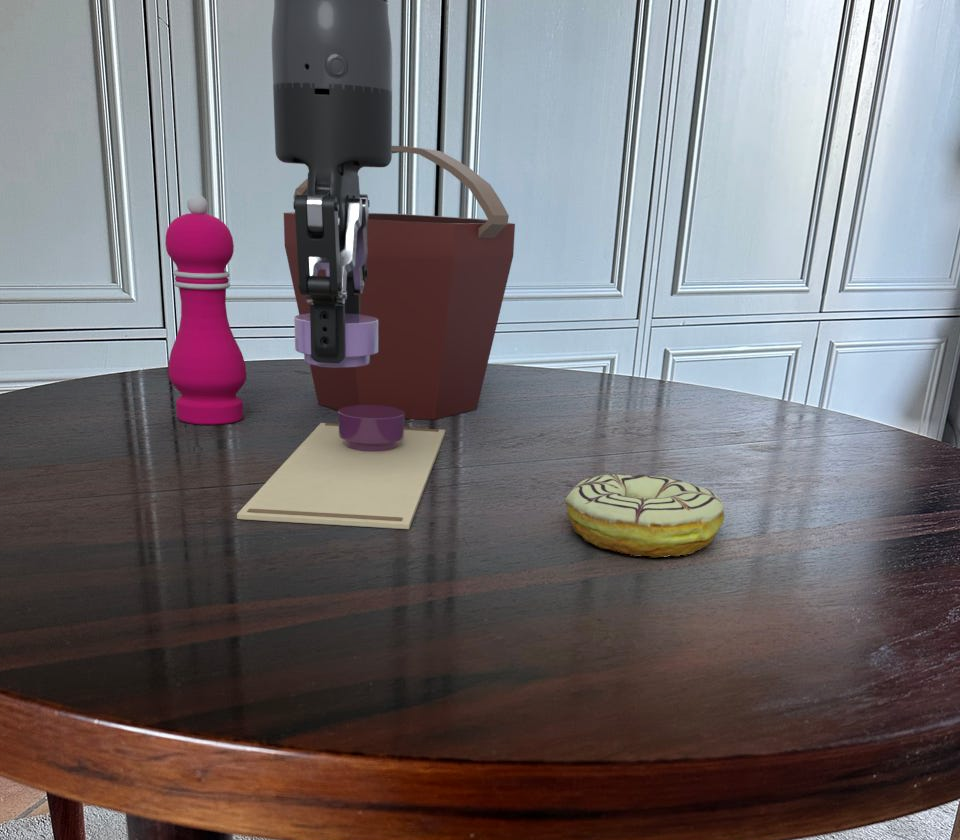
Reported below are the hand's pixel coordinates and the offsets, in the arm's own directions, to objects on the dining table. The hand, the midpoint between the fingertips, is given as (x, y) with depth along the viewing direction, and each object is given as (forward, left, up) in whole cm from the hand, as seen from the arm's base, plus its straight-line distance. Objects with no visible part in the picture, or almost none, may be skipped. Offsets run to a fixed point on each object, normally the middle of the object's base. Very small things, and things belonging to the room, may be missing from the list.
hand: (336, 353), depth 72 cm
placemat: (0, +9, -11) cm, 14 cm away
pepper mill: (-17, +25, -11) cm, 32 cm away
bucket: (0, +38, -11) cm, 40 cm away
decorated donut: (+22, -5, -11) cm, 25 cm away
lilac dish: (0, 0, -1) cm, 1 cm away
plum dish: (0, +16, -10) cm, 19 cm away
